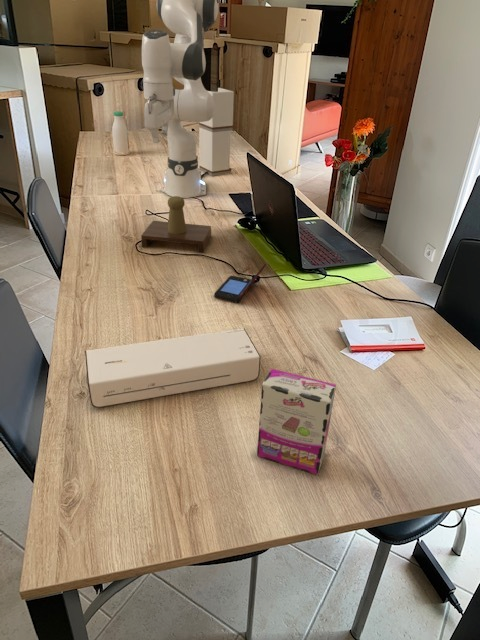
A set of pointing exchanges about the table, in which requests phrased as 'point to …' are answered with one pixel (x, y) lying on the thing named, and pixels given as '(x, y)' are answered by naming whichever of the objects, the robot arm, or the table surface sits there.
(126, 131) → the milk bottle
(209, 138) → the white square pillar
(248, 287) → the handheld console
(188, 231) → the desk riser
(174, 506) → the table surface
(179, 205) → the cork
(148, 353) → the laminator
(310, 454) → the candy bar box
